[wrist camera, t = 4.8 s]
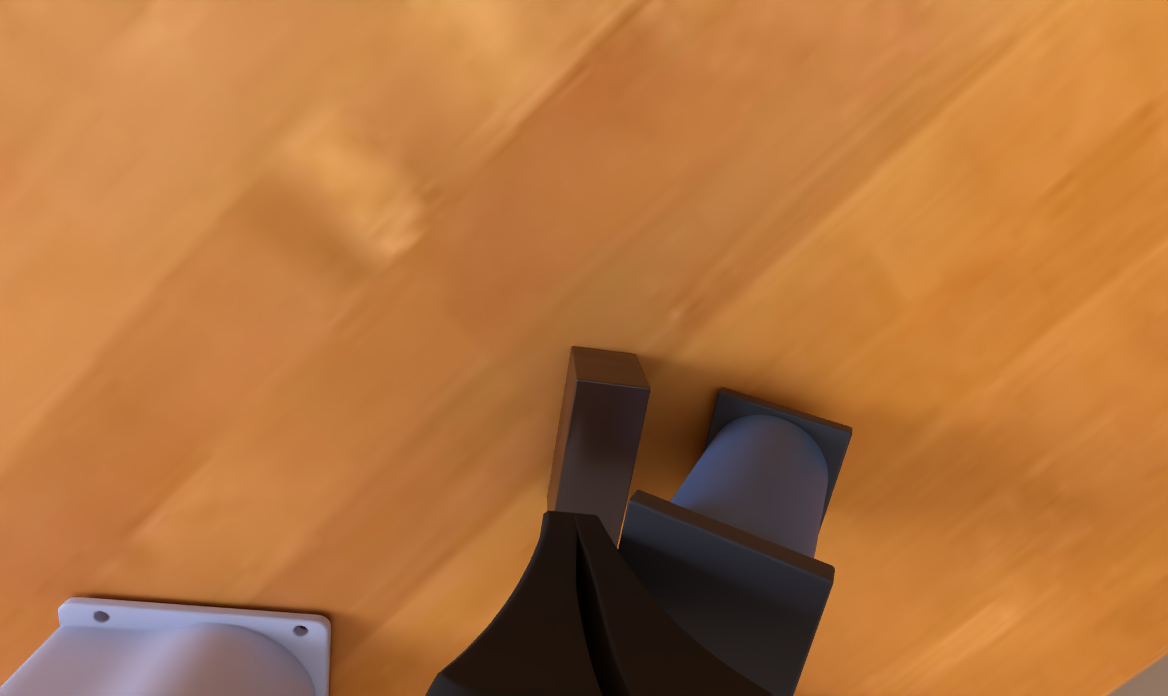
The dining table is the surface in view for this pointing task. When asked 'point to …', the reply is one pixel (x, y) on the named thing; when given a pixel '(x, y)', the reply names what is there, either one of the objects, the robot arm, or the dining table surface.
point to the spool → (745, 538)
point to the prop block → (598, 435)
